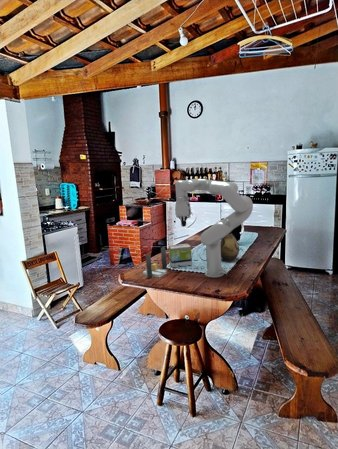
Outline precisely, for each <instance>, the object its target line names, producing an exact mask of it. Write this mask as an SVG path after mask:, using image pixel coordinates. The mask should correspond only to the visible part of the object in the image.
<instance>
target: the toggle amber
mask: <svg viewBox="0 0 338 449" xmlns="http://www.w3.org/2000/svg"><path fill="white" fill-rule="evenodd" d="M151 267H152V270H155V271H156V270H157V269H158V268H159V267H158V263H151Z"/></svg>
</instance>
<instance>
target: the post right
mask: <svg viewBox="0 0 338 449" xmlns="http://www.w3.org/2000/svg"><path fill="white" fill-rule="evenodd" d="M166 251H167V250H166V247H164V246H163V247H160V255H161V267H162V268H161V269H166V270H167V271H168V266H167V252H166Z"/></svg>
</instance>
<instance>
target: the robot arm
mask: <svg viewBox="0 0 338 449" xmlns="http://www.w3.org/2000/svg"><path fill="white" fill-rule="evenodd" d="M195 191H204V192H208V193H209V194H210V195H216V196H217V195H218V196H221V197H222V198H223V199H224V200H225V202H226V203H227V204H228V205H229V206H230V207H231V208H232V209H233V210H234V211H233V212H232V213H231V214H229V215H228V216H225V217H224V218H223V219H221V220H218V221H217V222H216V223H214V224H213V225H212V226H211V225H210V227H209V228H207V229H206V230H204V231H203V232H202V233H201V234H200V237H199V238H200V243H201V244H203V246H205V254H206V255H205V257H206V271H205V272H204V276H206V277H208V278H221V277H224V275H227V274H228V270H227V269H224V267H222V258H221V240H222V238H223V237H225V236H226V235H227V234H229V233H230V232H231V233H232V231H233V230H235V229H236V228H237V227H239V226H240V225H241V224H243V223H245V222H246V221H247V220H248V219H249V218H250V216H251V214H252V212H253V207H254V203H253V201H252V198H251V197H249V196H247V195H242V196H241V194H240V193H238V192H239V186H238V184H237V183H236V182H234V181H233V182H232V181H223V180H213V179H212V180H211V179H206V178H205V179H204V178H191V179H187V180H185V179H179V180H176V181H175V199H176V201H175V205H174V208H175V209H174V210H175V211H174V212H175V218H178V219H179V221H180V225H181V227H183V228H184V227H187V220H188V219H190V218H191V215H192V208H191V203H190V201H189V200H190V197H189V196H188V192H189V193H190V192H195Z"/></svg>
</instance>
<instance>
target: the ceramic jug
mask: <svg viewBox="0 0 338 449" xmlns="http://www.w3.org/2000/svg"><path fill="white" fill-rule="evenodd" d="M239 253H240V246H239V243H238V241H237V239H236V237H235V236H234V234H233V233H232V231H231V232H230V233H229V234H227V235H226V236H225V237H223V238H222V239H221V262H226V263H227V262H228V263H229V262H234V261H235V260H236V259H237V257H238V256H239Z"/></svg>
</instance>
